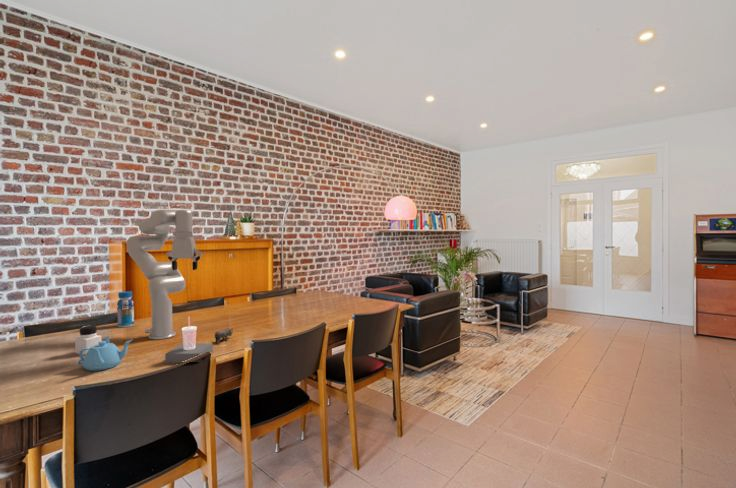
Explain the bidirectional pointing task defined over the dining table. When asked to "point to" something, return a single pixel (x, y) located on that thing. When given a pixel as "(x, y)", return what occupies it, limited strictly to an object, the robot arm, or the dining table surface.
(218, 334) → the rhino figurine
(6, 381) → the dining table surface
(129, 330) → the dining table surface
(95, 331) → the medicine bottle
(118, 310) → the beverage bottle
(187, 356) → the plinth
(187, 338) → the beverage cup
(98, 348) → the teapot
